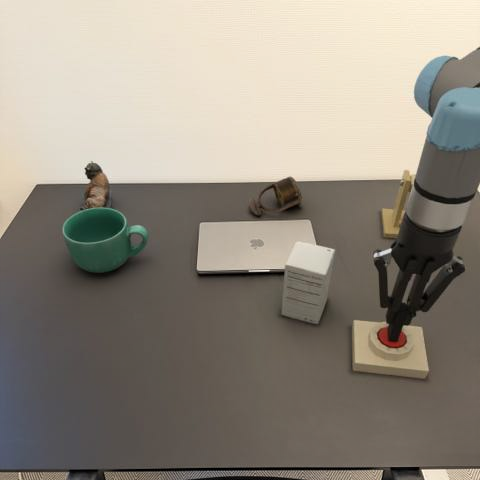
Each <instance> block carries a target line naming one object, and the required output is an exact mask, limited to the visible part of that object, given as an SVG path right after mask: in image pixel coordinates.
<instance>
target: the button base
mask: <svg viewBox="0 0 480 480" xmlns="http://www.w3.org/2000/svg"><path fill="white" fill-rule="evenodd" d="M388 325H389V324H387V323H386V320H385V321H384V320H383V321H382V322H380V321H379V322H378V321H368V320H359V319H353V322H352V326H351V349H352V351H351V352H352V353H351V355H352V356H351V357H352V371H354V372H362V373H368V374H369V373H370V374H379V375H388V376H397V377H404V378H414V379H422V380H426V379H427V376H428V374H429V372H430V369H429V363H428V357H427V350H426V345H425V338H424V331H423V326H416V325H408V326H404V325H403V328H402V332H403V333H404V335H405V338H406V340H405V343H404V346H403V347H401V348H398V349H395V348H388V347H386V346H384V345H382V344H381V343H380V341H379V340H378V339H377V338H378V335H379V332H380V331H381V330H382V329H383V328H385V327H388Z"/></svg>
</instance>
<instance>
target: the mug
mask: <svg viewBox="0 0 480 480" xmlns="http://www.w3.org/2000/svg"><path fill="white" fill-rule="evenodd" d="M61 231H62V235H63V239H64V242H65V244H66V248H67V250H68V253H69V255H70V258H71V259H72V261H73V263H75V265H76V266H77V267H79V268H80V269H82V270H84V271H86V272H89V273H98V274H99V273H108V272H111V271H114V270H116V269H119V268H121V266H122V265H124V264H125V263H126V262H127V260H128V259H129V258H130V257H133V256H135V255H138V254H139V253H140V252H142V251H143V250H144V249H145V248H146V246H147V243H148V241H149V232H148V231H147V229H146V228H145V227H144V226H142V225H139V224H135V225H131V226H128V222H127V218H126V216H125V215H124V214H123V213H122V212H120V211H119V210H116V209H114V208H111V207H110V208H91V209H86V210H83V211H80V212H79V211H78V212H76V213H74V214H73V215H71V216H70V217H68V218H67V219H66V220H65V222H64V223H63V225H62V230H61ZM134 234H135V235H139V236H140V237H141V238H142V241H141V242H140V243H138V244H136V245H134V246H132V239H131V237H132V235H134Z"/></svg>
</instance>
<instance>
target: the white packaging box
mask: <svg viewBox="0 0 480 480" xmlns="http://www.w3.org/2000/svg"><path fill="white" fill-rule="evenodd" d="M335 253H336V249H334V248H330V247H327V246H323V245H317V244H313V243H308V242H303V241H299V240H298V241H295V243H294V245H293V247H292V249H291V251H290V254H289V256H288V258H287V260H286V262H285V264H284V276H283V277H284V278H283V287H282V301H281V316H284V317H287V318H291V319H296V320H298V321H303V322H307V323H309V324H314V325H319V323H320V320H321V318H322V315H323V313H324V310H325V306H326V304H327V300H328V295H329V290H330V289H329V288H330V283H331V278H332V272H333V266H334V261H335Z"/></svg>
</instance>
